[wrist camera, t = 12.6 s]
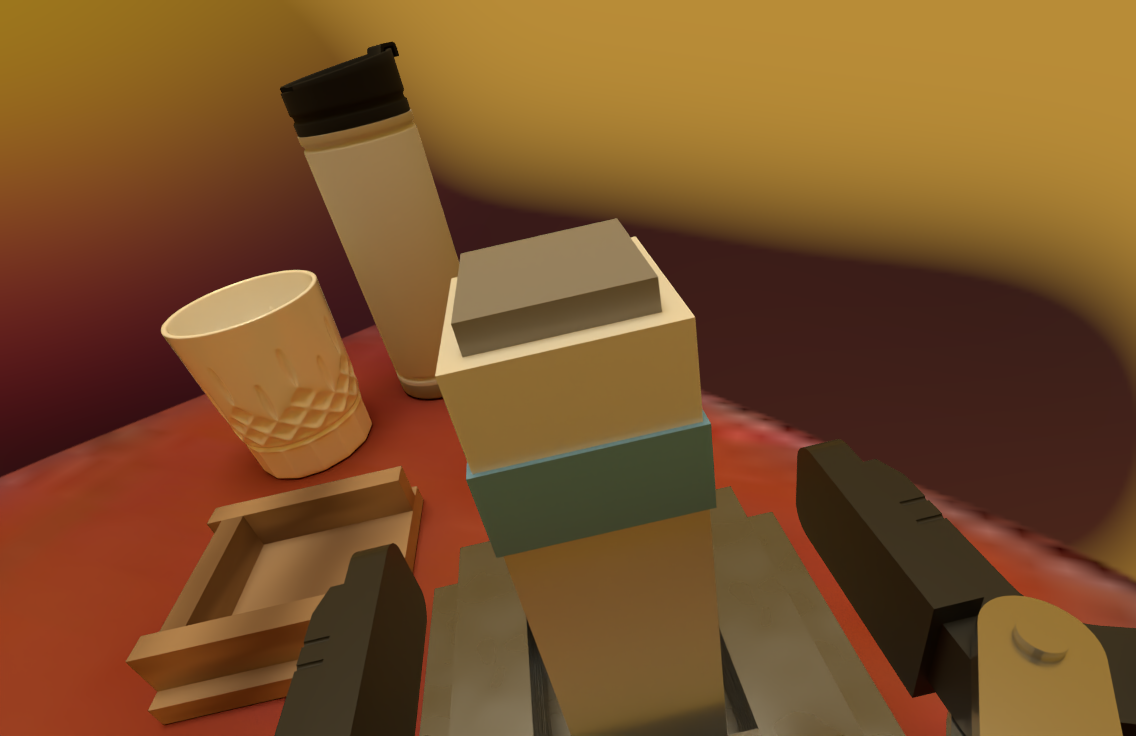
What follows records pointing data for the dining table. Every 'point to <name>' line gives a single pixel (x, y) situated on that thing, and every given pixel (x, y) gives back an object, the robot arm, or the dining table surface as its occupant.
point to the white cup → (275, 370)
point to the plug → (593, 471)
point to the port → (747, 639)
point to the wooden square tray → (267, 590)
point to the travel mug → (381, 203)
